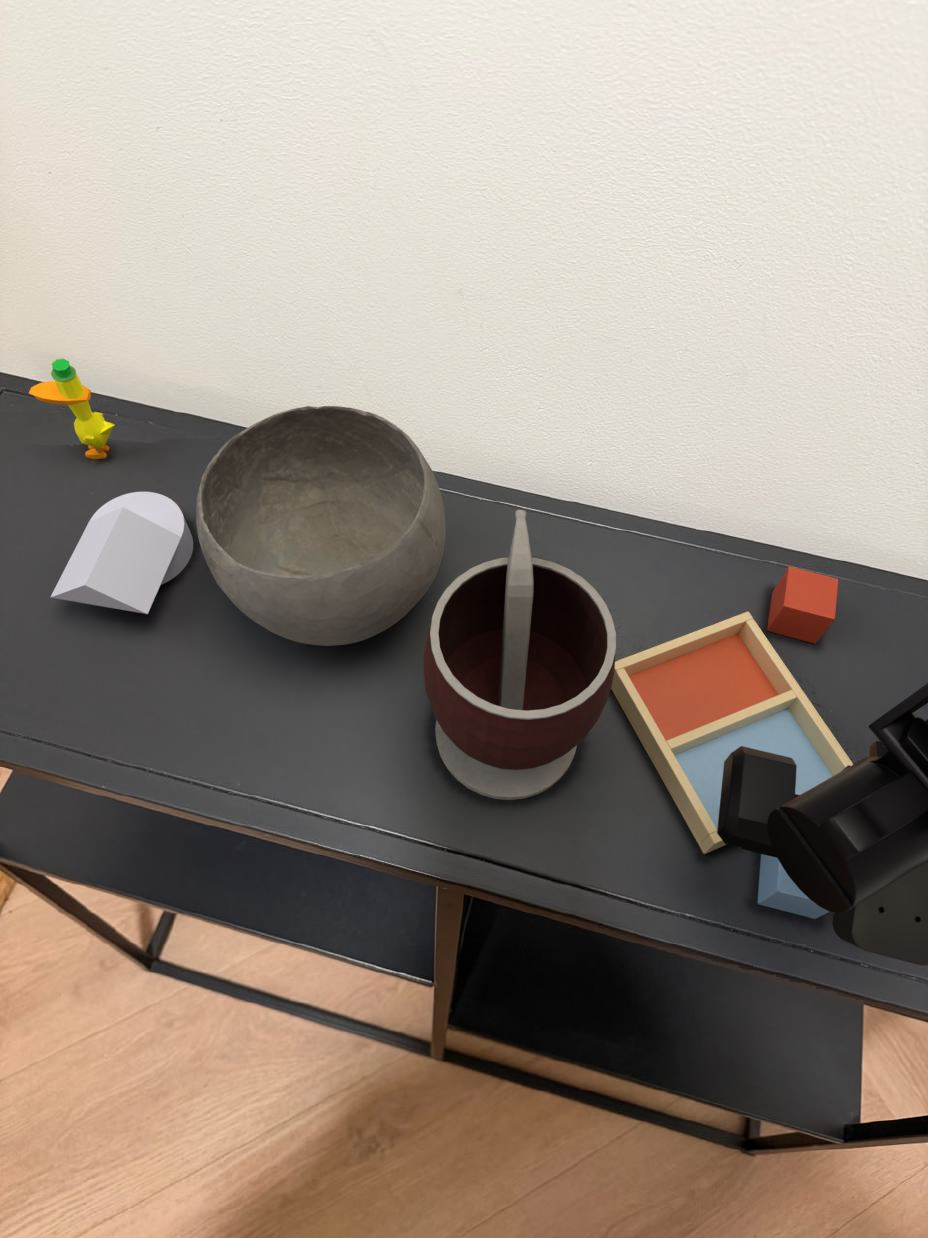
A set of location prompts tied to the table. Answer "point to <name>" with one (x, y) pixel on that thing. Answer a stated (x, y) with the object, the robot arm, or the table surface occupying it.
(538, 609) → the mate gourd
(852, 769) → the robot arm
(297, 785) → the table surface
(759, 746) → the sorting tray
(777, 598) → the red block
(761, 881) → the blue block
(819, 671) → the table surface
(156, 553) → the wedge on round base
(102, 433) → the toy figure
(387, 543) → the bowl
